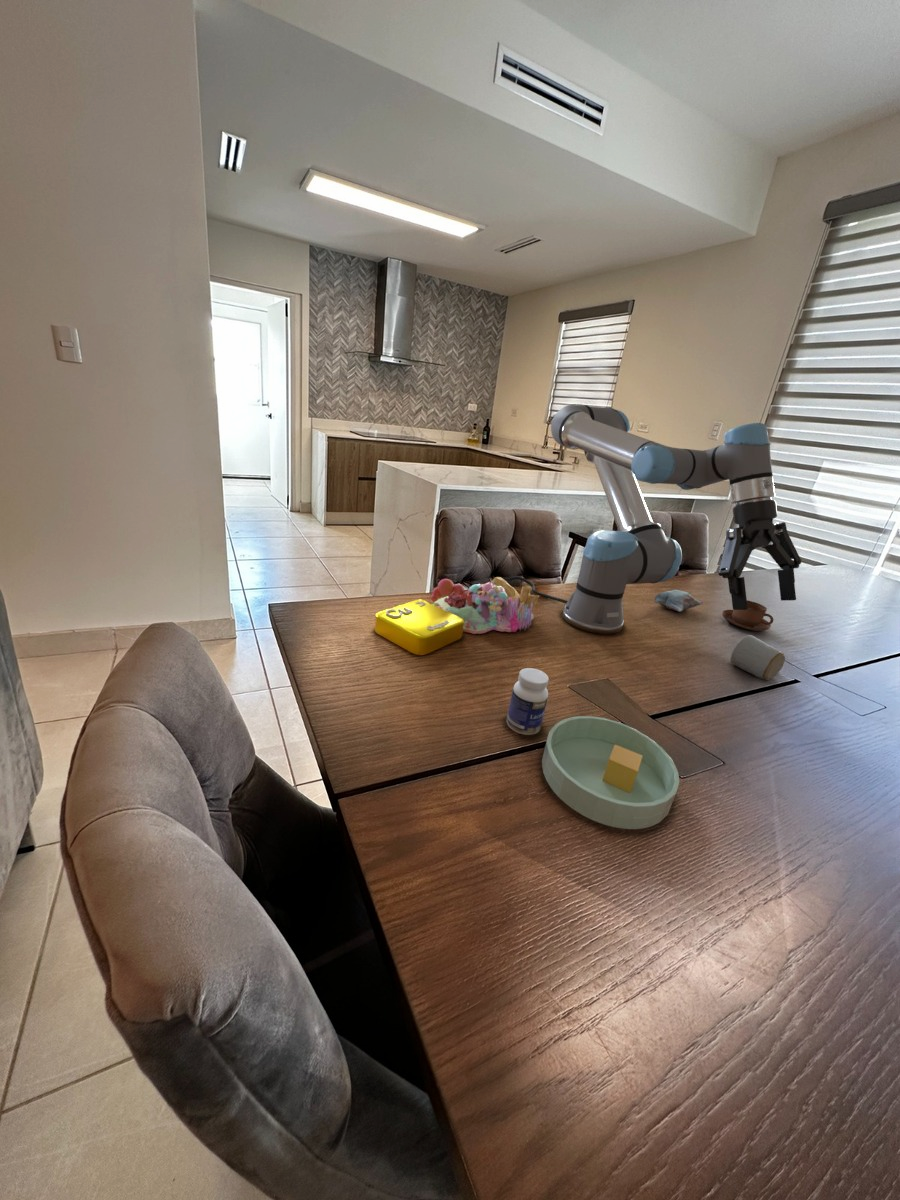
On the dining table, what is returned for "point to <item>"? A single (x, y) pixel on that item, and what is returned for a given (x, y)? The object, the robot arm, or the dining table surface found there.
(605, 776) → the block
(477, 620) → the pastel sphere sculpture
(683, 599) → the packaged food
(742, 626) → the cup and saucer
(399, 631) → the element tile
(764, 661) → the ceramic mug
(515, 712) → the pill bottle
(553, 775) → the bowl
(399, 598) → the dining table surface
